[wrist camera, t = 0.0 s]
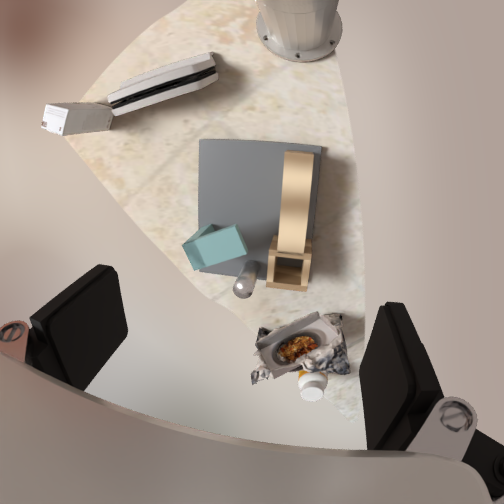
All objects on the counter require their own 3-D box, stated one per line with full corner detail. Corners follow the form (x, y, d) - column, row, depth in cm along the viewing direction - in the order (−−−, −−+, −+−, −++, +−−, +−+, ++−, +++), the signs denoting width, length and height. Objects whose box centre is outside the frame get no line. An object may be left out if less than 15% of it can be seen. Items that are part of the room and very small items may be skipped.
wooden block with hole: (306, 273, 48) (306, 291, 42) (271, 269, 48) (266, 287, 43) (320, 153, 40) (322, 155, 35) (279, 149, 41) (275, 151, 36)
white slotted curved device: (214, 51, 38) (196, 55, 30) (222, 77, 41) (206, 89, 33) (123, 81, 41) (92, 95, 34) (131, 104, 44) (102, 122, 37)
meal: (267, 342, 56) (256, 392, 44) (259, 325, 54) (246, 374, 43) (344, 323, 51) (351, 373, 39) (338, 304, 50) (344, 353, 38)
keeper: (256, 234, 47) (246, 254, 39) (210, 249, 49) (194, 270, 42) (246, 210, 45) (234, 226, 38) (200, 227, 48) (182, 245, 40)
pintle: (243, 258, 48) (233, 279, 42) (260, 260, 48) (253, 282, 41) (243, 274, 50) (232, 297, 43) (259, 276, 49) (252, 299, 42)
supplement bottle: (330, 351, 54) (332, 387, 45) (322, 370, 56) (322, 406, 48) (304, 346, 55) (302, 382, 46) (296, 365, 57) (293, 401, 48)
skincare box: (116, 108, 43) (70, 107, 32) (109, 132, 45) (63, 136, 34) (92, 101, 43) (45, 101, 32) (86, 124, 45) (39, 128, 34)
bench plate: (201, 139, 43) (199, 139, 42) (321, 146, 41) (321, 146, 40) (201, 268, 52) (199, 271, 51) (305, 281, 49) (305, 284, 48)
